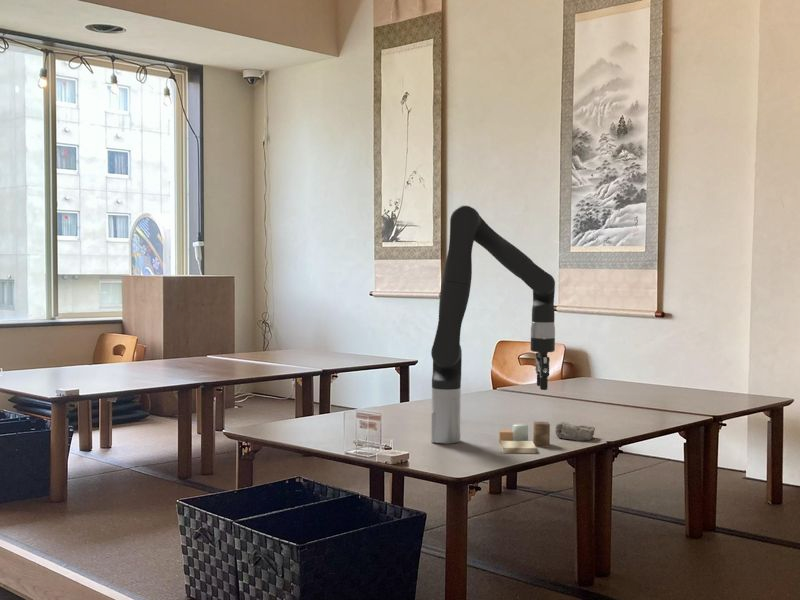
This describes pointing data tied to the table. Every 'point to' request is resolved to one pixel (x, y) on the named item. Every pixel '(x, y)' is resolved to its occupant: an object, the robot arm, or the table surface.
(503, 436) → the ochre cube
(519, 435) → the grey-green square block
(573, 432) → the stone
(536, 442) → the walnut block
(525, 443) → the board
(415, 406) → the table surface
